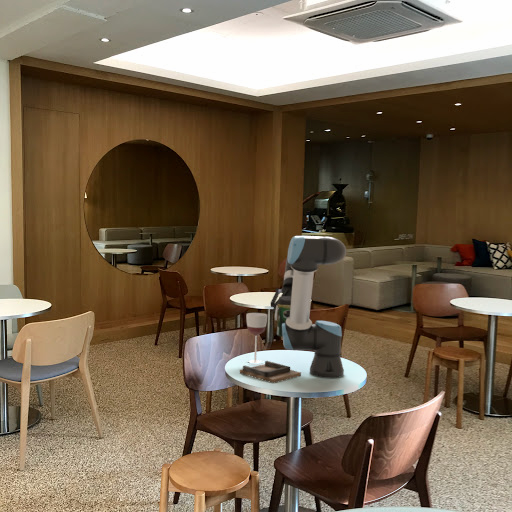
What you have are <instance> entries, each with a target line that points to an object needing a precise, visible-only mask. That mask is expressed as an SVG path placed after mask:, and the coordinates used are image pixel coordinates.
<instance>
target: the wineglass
mask: <svg viewBox="0 0 512 512" xmlns="http://www.w3.org/2000/svg"><path fill="white" fill-rule="evenodd" d="M245 319H246V326H247V330H248V332H250V333H251V334H253V335H254V358H253V359H249V360H250V361H249V362H250V363H260V362H261V361H262V360H260V361H259V359H257V348H258V346H257V344H258V336H259V335H260V334H262V333H264V332H265V330H266V326H267V323H268V314H267V313H263V312H262V313H261V312H249V313H246V318H245Z"/></svg>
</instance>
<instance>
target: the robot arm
mask: <svg viewBox="0 0 512 512" xmlns="http://www.w3.org/2000/svg"><path fill="white" fill-rule="evenodd" d="M346 254H347V248H346V245H345V244H344V243H343V242H342V241H341V240H340V239H337V238H335V237H332V236H319V235H318V236H316V235H315V236H314V235H312V236H311V235H295V236H292V238H291V240H290V241H289V245H288V249H287V256H286V257H287V258H286V259H285V268H284V269H285V270H284V275H283V283H282V288H281V289H280V288H278V287H277V288H275V293H274V294H273V296H272V299H271V301H270V307H271V308H273V314H274V321H278V316H279V308H278V301H279V295H280V294H281V295H280V297H281V296H291V307H290V317H288V318H287V319H286V323H283V324H282V334H283V337H282V341H283V343H282V344H283V348H284V349H285V350H291V351H314V353H313V354H314V355H313V359H312V361H311V364H310V367H309V374H310V375H312V376H314V377H319V378H325V379H336V378H341V377H343V376H344V374H345V373H344V372H345V371H344V367H343V362H342V359H341V358H342V357H341V354H342V352H341V351H342V337H343V334H342V326H340V324H339V323H338V324H337V323H336V322H332V321H329V320H328V321H326V320H315V323H313V321H312V320H311V319H310V314H311V313H310V312H311V303H312V297H313V296H312V293H313V285H314V275H315V272H317V271H318V270H319V265H327V266H328V265H334V264H338V263H340V262H342V261H344V259H345V258H346Z"/></svg>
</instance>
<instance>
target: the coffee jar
mask: <svg viewBox="0 0 512 512" xmlns="http://www.w3.org/2000/svg"><path fill="white" fill-rule="evenodd" d="M278 299H279V301H278V317H277V328H276V335H277V336H278V337H282V338H283V334H282V324H283V323H286V319H287V318H288V317H290V307H291V296H281V295H280V296H278Z"/></svg>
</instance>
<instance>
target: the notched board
mask: <svg viewBox="0 0 512 512" xmlns="http://www.w3.org/2000/svg"><path fill="white" fill-rule="evenodd" d="M241 373H243V374H242V375H244V374H246V375H245V376H248V375H250V376H249V377H251V376H253V377H252V378H255V377H256V378H255V379H258V378H260V379H259V380H261V379H263V380H262V381H265V380H266V381H265V382H268V381H270V382H269V383H271V382H273V383H272V384H274V382H275V383H278V381H279V382H282V380H283V381H286V379H287V380H291V379H294V378H293V377H295V378H298V377H297V376H299V377H301V376H302V372H300V371H297V370H293V369H291V366H289V365H284V364H282V363H281V364H280V363H276V362H273V361H271V360H270V361H268V360H265V361H264V363H263V364H258V365H256V366H250V365H249V366H248V365H242V368H241V369H239V374H241ZM290 378H291V379H290Z"/></svg>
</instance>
